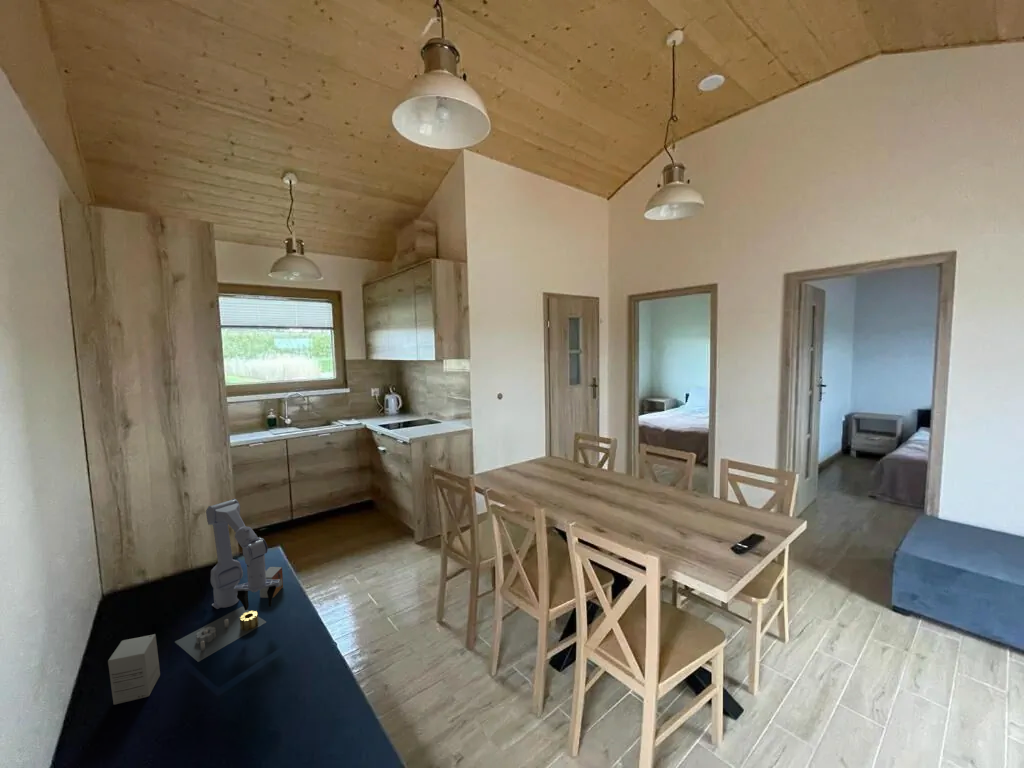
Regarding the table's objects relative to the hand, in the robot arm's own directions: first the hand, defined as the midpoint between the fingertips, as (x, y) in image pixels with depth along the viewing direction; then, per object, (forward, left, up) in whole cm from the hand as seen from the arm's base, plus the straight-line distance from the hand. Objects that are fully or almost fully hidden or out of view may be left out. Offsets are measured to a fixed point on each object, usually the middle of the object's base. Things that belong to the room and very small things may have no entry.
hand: (258, 606), depth 159 cm
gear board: (-9, -9, -10) cm, 16 cm away
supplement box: (-6, -35, -10) cm, 36 cm away
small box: (-17, +14, -10) cm, 24 cm away
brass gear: (-4, -2, -8) cm, 9 cm away
